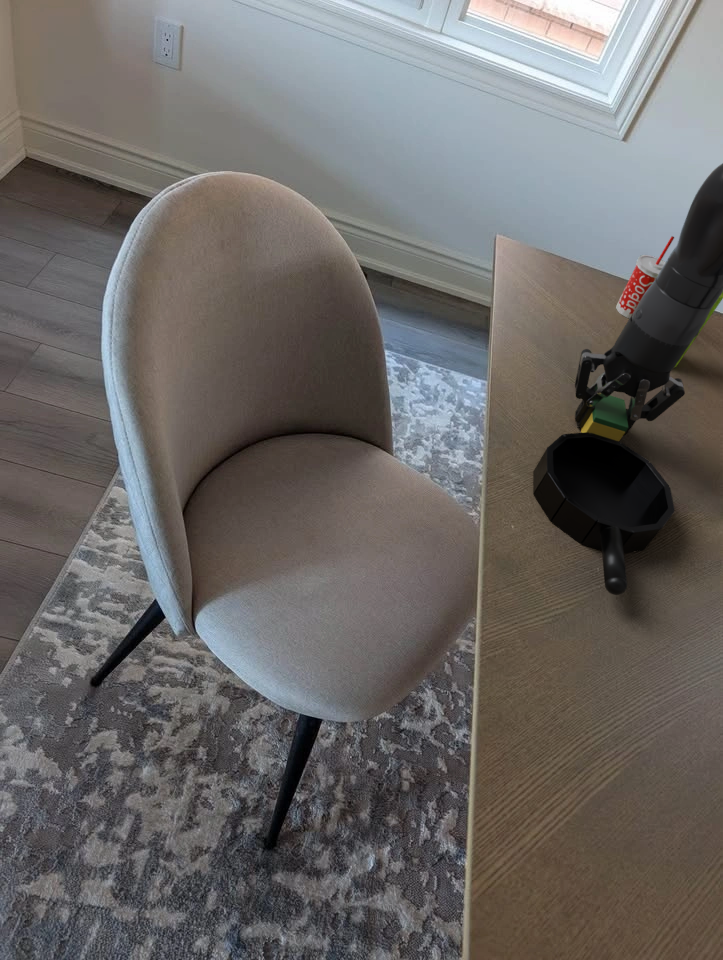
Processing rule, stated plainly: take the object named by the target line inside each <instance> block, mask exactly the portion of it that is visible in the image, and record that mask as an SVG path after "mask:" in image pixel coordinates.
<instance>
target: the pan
mask: <svg viewBox="0 0 723 960" xmlns="http://www.w3.org/2000/svg"><path fill="white" fill-rule="evenodd" d="M532 477H533V479H532V494H533V497H534V498H535V500H536V502H537V503H538V505H539V506H540V508H541V509H542V512H544V514H545V516H546V517H547V519H548V520H549V522H551V524H553V525H554V526H556V527H557V528H558V529H560V530H561V531H562V532H564V533H565V534H566V535H568V536H569V537H571V538H572V539H573V540H575V541H576V542H577V543H578V544H581V545H582V546H586V547H589V548H592V549H595V550H599V551H601V556H602V557H601V558H602V569H603V580H604V587H605V590H606V591H607V592H608V593H609V594H610V595H613V596H620V595H622V594H624V593H625V592H626V590H627V588H628V577H627V571H626V570H627V569H626V560H625V554H631V553H637V552H643V551H645V550H646V549H647V548H648V546H650V544H651V542H652V541H653V540H654V539H655V538H656V536H657V535H658V534H659V533H660V532H661V530H662V529H663V528H664V526H666V524H667V522H668V521H669V520H670V519H671V517H672V516H673V515H674V513H675V506H674V500H673V495H672V489H671V486H670V485H669V483H668V482H667V481H666V480H665V479H664V477H663V475H662V474H661V473H660V472H659V470H658V469H657V468H656V467H655V465H654V464H653V463H652V462H650V460H649V459H647V458H646V457H644V456H642V455H641V454H640V453H638V451H637V452H636V451H635V450H634V449H632V448H631V447H630V446H628V445H627V444H625V443H623V442H621V441H616V440H613V439H610V438H606V437H603V436H600V435H597V434H594V433H589V432H586V433H581V432H574V433H571V432H570V433H563V434H561V435H560V436H558V438H556V439H555V440H554V441H553V442H552V443H551V444H549V446H547V447H546V449H545V450H544V452H543V454H542V455H541V457H540V459H539V461H538V462H537V464H536V466H535V468H534V470H533V472H532Z"/></svg>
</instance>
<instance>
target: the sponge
mask: <svg viewBox="0 0 723 960" xmlns="http://www.w3.org/2000/svg"><path fill="white" fill-rule="evenodd" d="M594 408H595V409H594V410H593V412H592V413H591V415H590V417H589V418H588V420H587V421H586V423H585V425H584V426H583V428H581V427H580V433H586V432H589V433H594V434H597V435H600V436H603V437H606V438H610V439H613V440H616V441H619V442H621V439H622V438H623V435H624V433H625V432H626V430H627V429H628V421H627V414H626V409H627V408H626V400H625V399H623V398H620V397H616V396H614V395H612V394H611V395H609V396H608V397H607V398H605V397H604V398H603V399H602V400H601V401H599V402H598V403H597V404H596V405H595V406H594Z"/></svg>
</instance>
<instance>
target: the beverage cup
mask: <svg viewBox="0 0 723 960" xmlns="http://www.w3.org/2000/svg"><path fill="white" fill-rule="evenodd" d="M674 239H675V236H673V235H671V237H670V238H669V240H668V242H667V244H666V245H665V247H664V249H663V250H662V252H661V254H660V255H659V257H655V256H653V255H650V254H642V255H640V256H638V258H637V260H636V262H635V263H636V264H635V267H634V269H633V271H632V273H631V275H630V277H629V278H628V281H627V283H626V285H625V287H624V289H623V291H622V294H621V295H620V297H619V300H618V302H617V303H616V306H615V308H616V310H617V312H618V313H619V314H620V315H621V316H623V317H625V318H626V319H628V320H629V319H630V317H631V315H632V314H633V312H634V310H635V308H636V307H637V305H638V303H639V302H640V300H641V298H642V297H643V295H644V294H645V292H646V291H647V290H648V288H649V287H650V286H651V285H652V283H653V282H654V281H655V279H656V278H657V276H658V275H659V273H660V271H661V270H662V268H663V266H664V265H665V263H666V261H664V260H662V259H663V258H664V257H665V254H666V252H667V251H668V249H669V248H670V246H671V244H672V242H673V241H674Z"/></svg>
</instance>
